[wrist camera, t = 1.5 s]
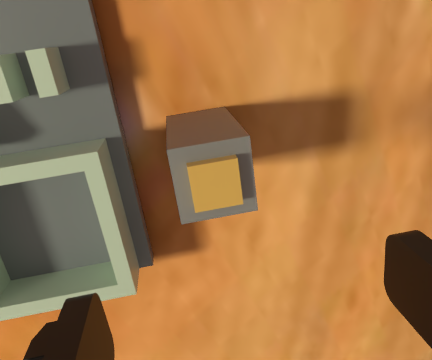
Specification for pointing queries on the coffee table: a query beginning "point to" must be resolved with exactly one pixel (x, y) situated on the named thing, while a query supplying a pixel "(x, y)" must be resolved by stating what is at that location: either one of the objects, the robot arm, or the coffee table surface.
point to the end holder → (108, 218)
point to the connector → (210, 165)
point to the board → (58, 137)
